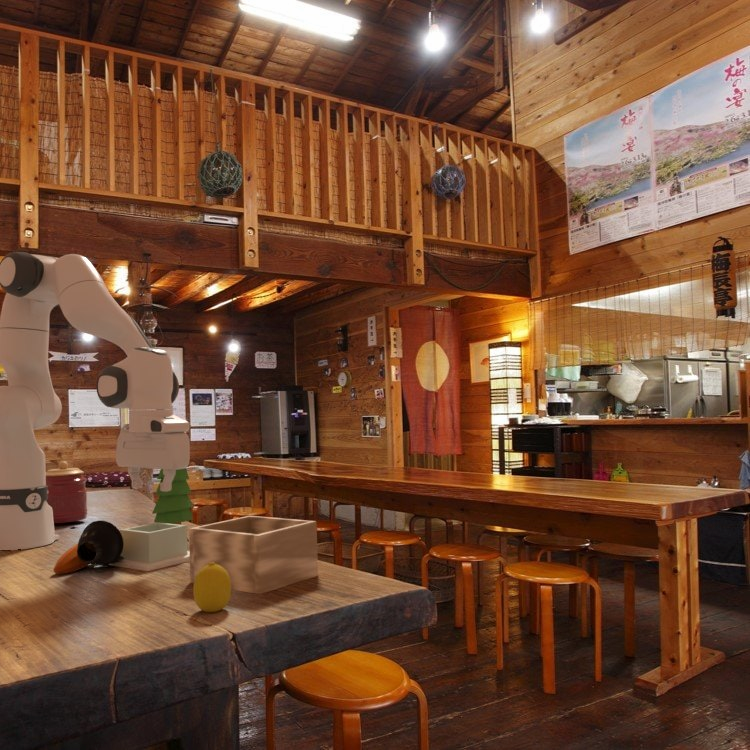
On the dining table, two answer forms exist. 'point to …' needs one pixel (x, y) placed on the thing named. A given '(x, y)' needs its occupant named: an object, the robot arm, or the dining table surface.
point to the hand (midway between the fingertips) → (151, 489)
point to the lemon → (212, 588)
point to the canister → (67, 493)
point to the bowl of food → (100, 544)
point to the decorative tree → (174, 500)
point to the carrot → (70, 561)
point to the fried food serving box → (257, 551)
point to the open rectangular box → (154, 546)
